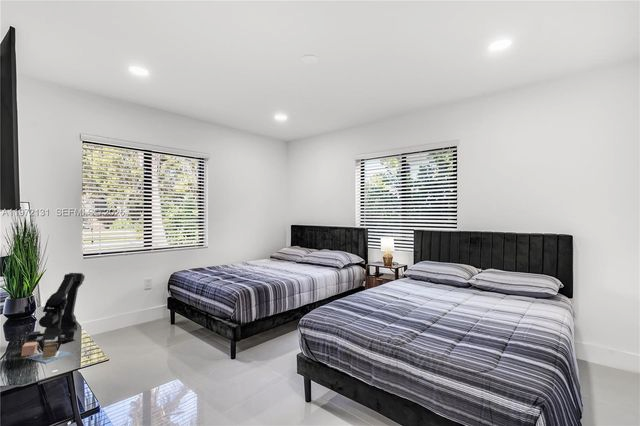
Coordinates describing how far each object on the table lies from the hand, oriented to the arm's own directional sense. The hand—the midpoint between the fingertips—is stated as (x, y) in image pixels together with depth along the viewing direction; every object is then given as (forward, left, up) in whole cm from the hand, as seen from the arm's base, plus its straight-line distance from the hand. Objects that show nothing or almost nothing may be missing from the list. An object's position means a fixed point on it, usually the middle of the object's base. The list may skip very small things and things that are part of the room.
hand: (50, 351), depth 161 cm
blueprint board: (0, 0, -3) cm, 3 cm away
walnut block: (0, 0, -2) cm, 2 cm away
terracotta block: (+2, -11, -3) cm, 12 cm away
